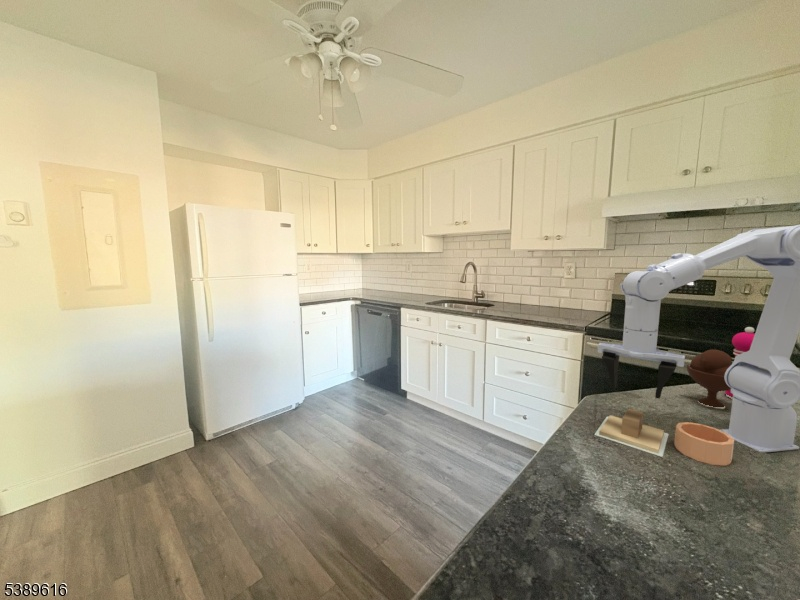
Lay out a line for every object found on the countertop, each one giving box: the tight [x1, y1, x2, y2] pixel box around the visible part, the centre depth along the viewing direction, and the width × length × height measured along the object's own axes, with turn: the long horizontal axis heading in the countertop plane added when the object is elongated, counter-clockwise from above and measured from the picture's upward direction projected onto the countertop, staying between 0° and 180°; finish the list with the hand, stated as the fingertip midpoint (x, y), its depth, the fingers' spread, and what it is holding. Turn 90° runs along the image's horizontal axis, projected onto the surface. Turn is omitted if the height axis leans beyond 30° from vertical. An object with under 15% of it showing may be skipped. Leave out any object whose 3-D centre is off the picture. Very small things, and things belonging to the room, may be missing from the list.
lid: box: [599, 408, 665, 453], centre depth 69 cm, size 10×10×4 cm
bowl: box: [673, 421, 735, 467], centre depth 63 cm, size 8×8×4 cm
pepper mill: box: [724, 326, 756, 397], centre depth 87 cm, size 7×7×20 cm
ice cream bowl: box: [686, 349, 733, 407], centre depth 83 cm, size 11×11×15 cm
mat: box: [594, 416, 670, 458], centre depth 70 cm, size 12×12×1 cm
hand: (635, 391), depth 68 cm, fingers open, 7 cm apart
